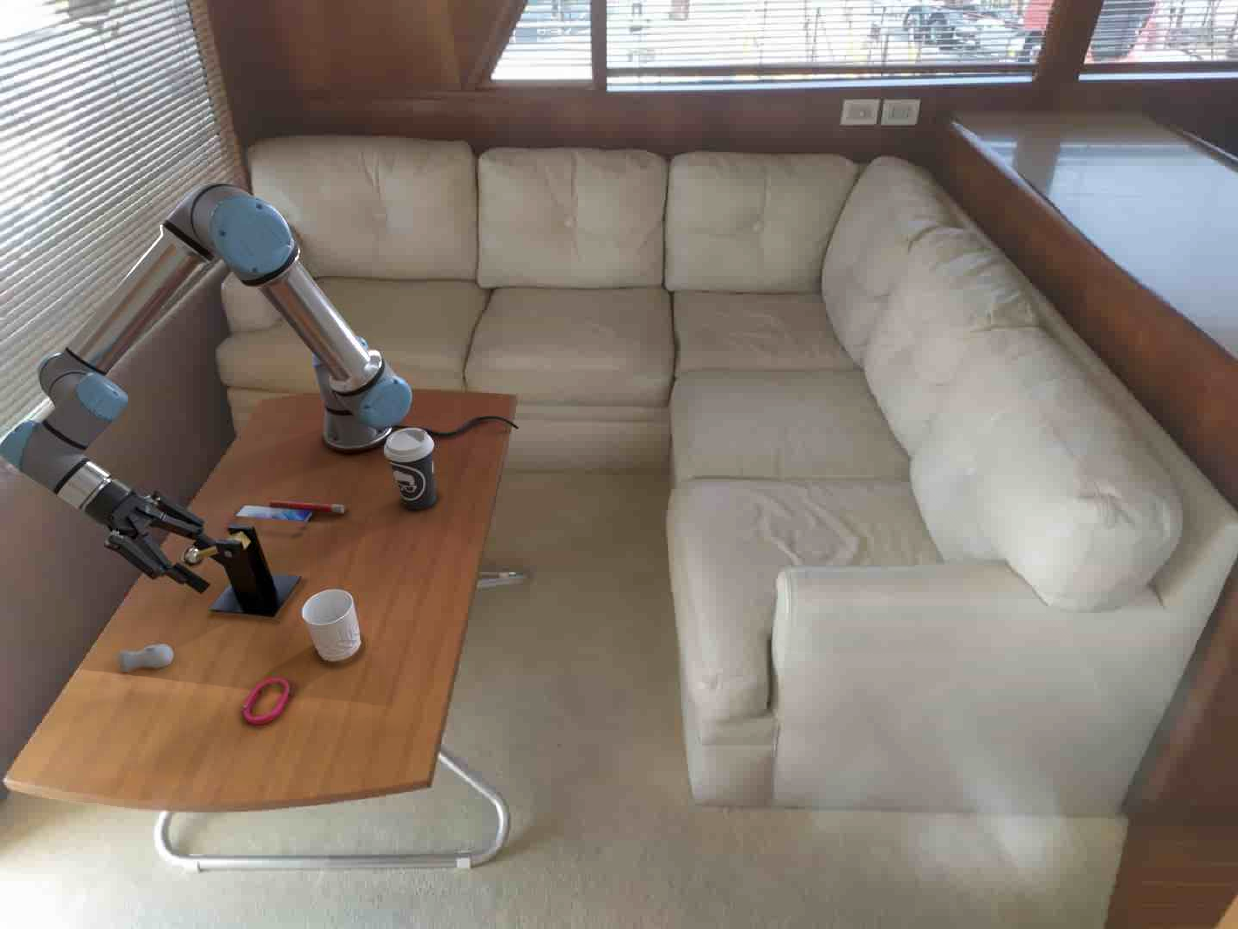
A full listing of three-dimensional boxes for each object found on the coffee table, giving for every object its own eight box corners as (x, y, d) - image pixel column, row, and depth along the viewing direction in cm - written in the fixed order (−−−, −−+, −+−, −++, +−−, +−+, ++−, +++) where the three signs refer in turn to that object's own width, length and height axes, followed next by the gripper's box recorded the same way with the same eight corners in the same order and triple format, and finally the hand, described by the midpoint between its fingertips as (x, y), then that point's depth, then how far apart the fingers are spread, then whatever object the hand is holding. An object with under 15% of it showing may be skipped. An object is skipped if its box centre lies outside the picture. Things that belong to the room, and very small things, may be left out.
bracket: (212, 615, 148) (184, 550, 139) (241, 576, 156) (217, 512, 147) (276, 622, 146) (252, 557, 138) (303, 582, 154) (282, 518, 146)
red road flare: (341, 515, 169) (339, 508, 168) (270, 510, 171) (268, 503, 170) (345, 509, 171) (343, 503, 170) (274, 505, 173) (272, 498, 172)
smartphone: (243, 504, 172) (313, 509, 170) (245, 507, 173) (314, 513, 170) (224, 526, 166) (296, 532, 164) (225, 529, 167) (297, 536, 165)
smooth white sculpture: (181, 658, 142) (169, 675, 137) (131, 662, 141) (117, 679, 136) (176, 635, 140) (164, 651, 135) (126, 639, 140) (111, 655, 135)
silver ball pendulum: (186, 574, 148) (171, 559, 146) (197, 561, 151) (183, 546, 149) (244, 555, 142) (230, 539, 141) (255, 541, 145) (241, 525, 144)
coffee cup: (448, 507, 171) (436, 446, 162) (400, 520, 168) (386, 457, 159) (438, 481, 178) (426, 421, 169) (392, 492, 175) (378, 431, 167)
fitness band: (264, 681, 136) (261, 674, 135) (298, 685, 135) (295, 678, 134) (237, 722, 129) (234, 716, 128) (273, 727, 128) (270, 721, 127)
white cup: (314, 640, 143) (299, 597, 137) (362, 627, 145) (350, 584, 139) (318, 674, 136) (303, 630, 131) (368, 660, 139) (355, 616, 133)
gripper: (126, 471, 152) (236, 549, 159) (50, 542, 136) (176, 624, 143) (142, 449, 148) (255, 529, 155) (66, 519, 133) (195, 605, 140)
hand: (217, 575), depth 149 cm, fingers open, 6 cm apart
